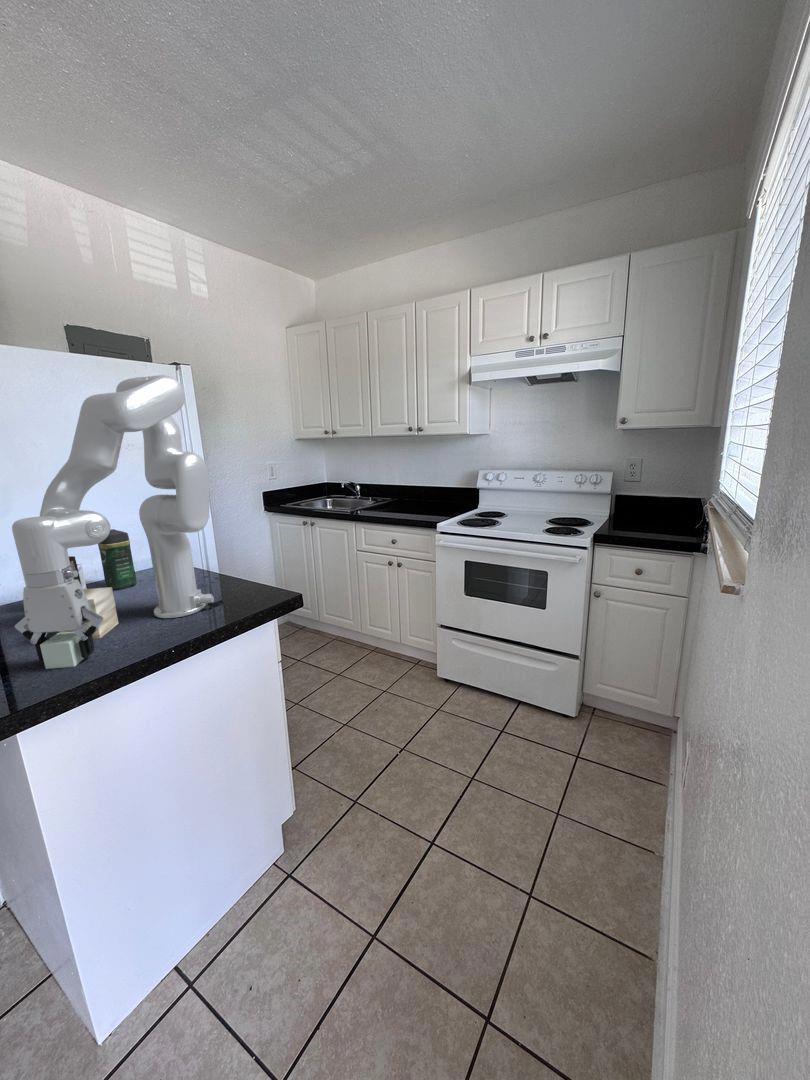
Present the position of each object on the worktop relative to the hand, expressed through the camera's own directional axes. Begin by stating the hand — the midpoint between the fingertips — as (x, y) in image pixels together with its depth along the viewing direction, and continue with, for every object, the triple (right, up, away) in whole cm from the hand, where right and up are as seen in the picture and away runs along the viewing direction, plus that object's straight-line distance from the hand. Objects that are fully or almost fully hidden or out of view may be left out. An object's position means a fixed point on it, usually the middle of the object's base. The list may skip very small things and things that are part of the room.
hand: (67, 656), depth 91 cm
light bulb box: (-28, +6, +35) cm, 45 cm away
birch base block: (-5, +2, +14) cm, 16 cm away
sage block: (0, -1, 0) cm, 1 cm away
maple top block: (-5, +7, +13) cm, 16 cm away
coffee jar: (-21, +10, +49) cm, 54 cm away
